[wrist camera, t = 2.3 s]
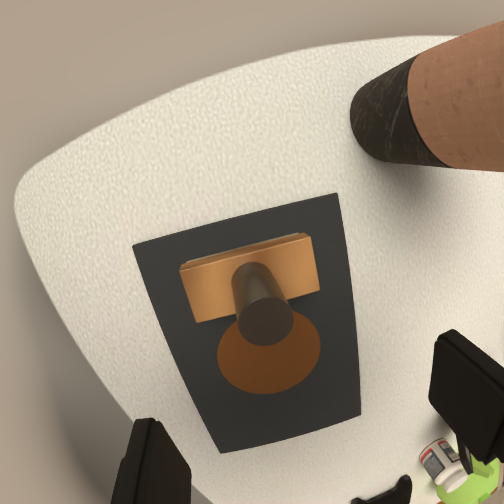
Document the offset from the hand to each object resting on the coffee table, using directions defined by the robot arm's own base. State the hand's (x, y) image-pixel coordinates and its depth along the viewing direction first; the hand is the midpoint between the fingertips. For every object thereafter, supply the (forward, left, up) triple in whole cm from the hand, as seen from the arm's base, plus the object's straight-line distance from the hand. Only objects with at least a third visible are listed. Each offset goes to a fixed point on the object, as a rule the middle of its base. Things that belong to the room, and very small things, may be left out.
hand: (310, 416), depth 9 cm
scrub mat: (0, -8, -16) cm, 18 cm away
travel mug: (+14, +9, -16) cm, 23 cm away
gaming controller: (+12, -46, -16) cm, 50 cm away
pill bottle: (+21, -38, -16) cm, 46 cm away
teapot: (+30, -51, -16) cm, 61 cm away
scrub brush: (0, 0, -16) cm, 16 cm away
